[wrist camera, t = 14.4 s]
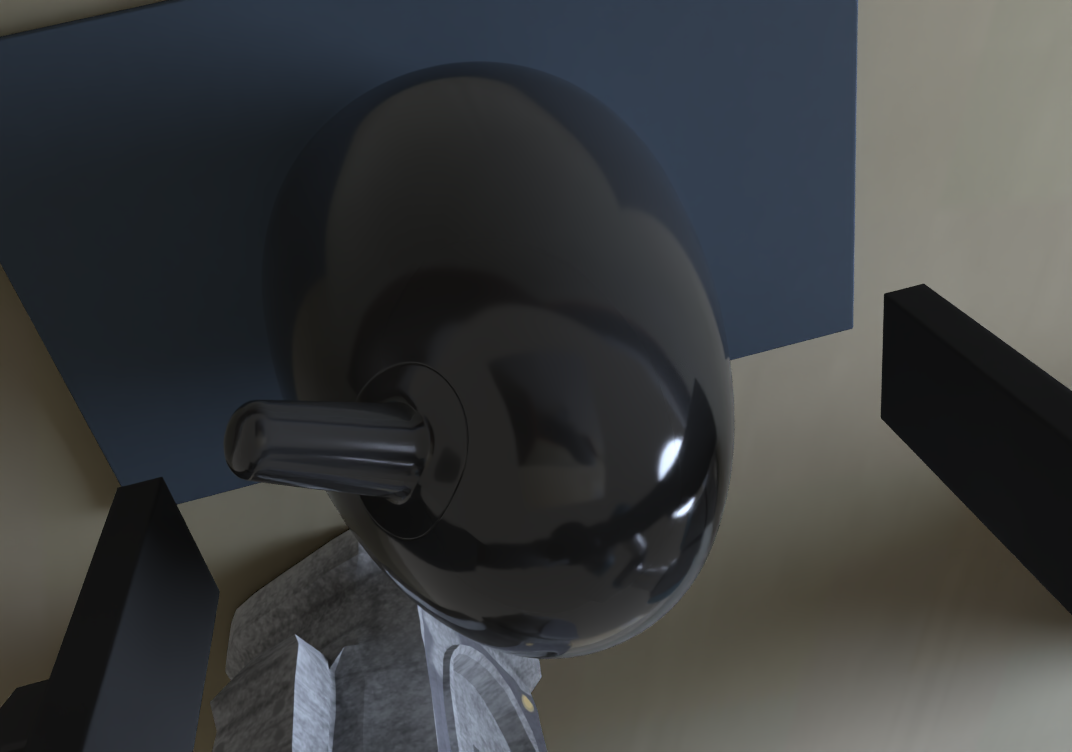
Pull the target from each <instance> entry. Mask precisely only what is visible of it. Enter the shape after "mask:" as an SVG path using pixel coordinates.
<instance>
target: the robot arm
mask: <svg viewBox="0 0 1072 752" xmlns="http://www.w3.org/2000/svg"><path fill="white" fill-rule="evenodd" d="M881 419H882V420H883V421H884V422H885V423H886V424H887V425H888V426H889V427H890V428H891V429H892V430H893V431H894V432H895V433H896V434H897V435H898V436H899V437H900V438H901V439H902V440H903V441H904V442H905V443H906V444H907V445H908V446H909V447H910V448H911V449H912V451H913V452H914V453H915V454H916V455H917V456H918V457H919V458H920V459H921V460H922V461H923V462H924V463H925V464H926V465H927V466H928V467H929V468H930V469H931V470H932V471H933V472H934V473H935V474H936V475H937V476H938V477H939V478H940V479H941V480H942V481H943V483H944V484H945V485H946V486H947V487H948V488H949V489H950V490H951V491H952V492H953V493H954V494H955V495H956V496H957V497H958V498H959V499H960V500H961V501H962V502H963V503H964V504H965V505H966V506H967V507H968V508H969V509H970V510H971V511H972V512H973V513H974V515H975V516H976V517H977V518H978V519H979V520H980V521H981V522H982V523H983V524H984V525H985V526H986V527H987V528H988V529H989V530H990V531H991V532H992V533H993V534H994V535H995V536H996V537H997V538H998V539H999V540H1000V541H1001V542H1002V543H1003V544H1004V545H1005V547H1006V548H1007V549H1008V550H1009V551H1010V552H1011V553H1012V554H1013V555H1014V556H1015V557H1016V558H1017V559H1018V560H1019V561H1020V562H1021V563H1022V564H1023V565H1024V566H1025V567H1026V568H1027V569H1028V570H1029V571H1030V572H1031V573H1032V574H1033V575H1034V576H1035V578H1036V579H1037V580H1038V581H1039V582H1040V583H1041V584H1042V585H1043V586H1044V587H1045V588H1046V589H1047V590H1048V591H1049V592H1050V593H1051V594H1052V595H1053V596H1054V597H1055V598H1056V599H1057V600H1058V601H1059V602H1060V603H1061V604H1062V605H1063V606H1064V607H1065V608H1066V610H1067V611H1068V612H1069V613H1070V614H1071V615H1072V391H1071V390H1070V389H1068V388H1067V387H1065V386H1064V385H1063V384H1061V383H1060V382H1059V381H1057V380H1056V379H1054V378H1053V377H1052V376H1050V375H1049V374H1048V373H1046V372H1045V371H1043V370H1042V369H1041V368H1039V367H1038V366H1037V365H1035V364H1034V363H1032V362H1031V361H1030V360H1028V359H1027V358H1026V357H1024V356H1023V355H1021V354H1020V353H1019V352H1017V351H1016V350H1015V349H1013V348H1012V347H1010V346H1009V345H1008V344H1006V343H1005V342H1003V341H1002V340H1001V339H999V338H998V337H997V336H995V335H994V334H992V333H991V332H990V331H988V330H987V329H986V328H984V327H983V326H981V325H980V324H979V323H977V322H976V321H975V320H973V319H972V318H970V317H969V316H968V315H966V314H965V313H964V312H962V311H961V310H959V309H958V308H957V307H955V306H954V305H952V304H951V303H950V302H948V301H947V300H946V299H944V298H943V297H941V296H940V295H939V294H937V293H936V292H935V291H933V290H932V289H930V288H929V287H928V286H926V285H925V284H921V285H917V286H913V287H909V288H905V289H901V290H897V291H893V292H889V293H885V294H884V320H883V356H882V392H881ZM219 593H220V591H219V589H218V587H217V585H216V583H215V581H214V579H213V577H212V575H211V573H210V571H209V569H208V567H207V565H206V563H205V561H204V559H203V557H202V555H201V553H200V551H199V549H198V547H197V545H196V543H195V541H194V539H193V537H192V535H191V533H190V531H189V529H188V527H187V525H186V523H185V521H184V519H183V517H182V515H181V513H180V511H179V509H178V507H177V505H176V503H175V501H174V499H173V497H172V495H171V493H170V491H169V489H168V487H167V485H166V483H165V481H164V479H163V477H159V478H155V479H151V480H147V481H143V482H139V483H135V484H131V485H127V486H123V487H119V488H117V491H116V494H115V497H114V499H113V502H112V505H111V508H110V511H109V513H108V516H107V519H106V522H105V524H104V527H103V530H102V533H101V536H100V538H99V541H98V544H97V547H96V550H95V552H94V555H93V558H92V561H91V564H90V566H89V569H88V572H87V575H86V578H85V580H84V583H83V586H82V589H81V592H80V594H79V597H78V600H77V603H76V605H75V608H74V611H73V614H72V617H71V619H70V622H69V625H68V628H67V631H66V633H65V636H64V639H63V642H62V645H61V647H60V650H59V653H58V656H57V659H56V661H55V664H54V667H53V670H52V673H51V675H50V678H49V679H48V680H45V681H41V682H37V683H33V684H30V685H26V686H22V687H18V688H16V689H15V691H14V692H13V693H12V694H11V696H10V697H9V698H8V699H7V701H6V702H5V703H4V704H3V706H2V707H1V708H0V752H193V749H194V743H195V737H196V731H197V725H198V719H199V713H200V707H201V701H202V695H203V689H204V683H205V677H206V671H207V665H208V659H209V653H210V647H211V641H212V635H213V629H214V623H215V617H216V611H217V605H218V599H219Z"/></svg>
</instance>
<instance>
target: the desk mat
mask: <svg viewBox="0 0 1072 752" xmlns="http://www.w3.org/2000/svg"><path fill="white" fill-rule="evenodd" d="M857 22H858V0H167V1H162V2H158V3H153V4H149V5H144V6H139V7H135V8H130V9H126V10H121V11H116V12H112V13H107V14H103V15H98V16H93V17H89V18H84V19H80V20H75V21H70V22H66V23H61V24H57V25H52V26H47V27H43V28H38V29H34V30H29V31H24V32H20V33H15V34H11V35H6V36H2V37H0V263H1V265H2V267H3V269H4V271H5V272H6V274H7V276H8V278H9V280H10V282H11V284H12V285H13V287H14V289H15V291H16V293H17V295H18V296H19V298H20V300H21V302H22V304H23V306H24V308H25V309H26V311H27V313H28V315H29V317H30V319H31V321H32V322H33V324H34V326H35V328H36V330H37V332H38V333H39V335H40V337H41V339H42V341H43V343H44V345H45V346H46V348H47V350H48V352H49V354H50V356H51V358H52V359H53V361H54V363H55V365H56V367H57V369H58V370H59V372H60V374H61V376H62V378H63V380H64V382H65V383H66V385H67V387H68V389H69V391H70V393H71V395H72V396H73V398H74V400H75V402H76V404H77V406H78V407H79V409H80V411H81V413H82V415H83V417H84V419H85V420H86V422H87V424H88V426H89V428H90V430H91V432H92V433H93V435H94V437H95V439H96V441H97V443H98V444H99V446H100V448H101V450H102V452H103V454H104V456H105V457H106V459H107V461H108V463H109V465H110V467H111V469H112V470H113V472H114V474H115V476H116V478H117V480H118V481H119V483H120V485H121V487H123V486H127V485H131V484H135V483H139V482H143V481H147V480H151V479H155V478H159V477H163V479H164V481H165V483H166V485H167V487H168V489H169V491H170V493H171V495H172V497H173V499H174V501H175V503H176V505H177V504H180V503H184V502H188V501H192V500H196V499H200V498H203V497H207V496H211V495H215V494H219V493H223V492H226V491H230V490H234V489H238V488H242V487H246V486H249V485H253V484H257V483H261V482H255V481H247V480H243V479H240V478H238V477H237V476H235V475H234V474H233V473H232V472H231V470H230V469H229V467H228V465H227V463H226V460H225V457H224V450H223V440H224V434H225V430H226V426H227V424H228V421H229V419H230V417H231V416H232V414H233V413H234V412H235V410H236V409H237V408H238V407H240V406H241V405H242V404H244V403H245V402H248V401H250V400H257V399H259V400H283V398H282V395H281V392H280V388H279V385H278V381H277V378H276V374H275V370H274V366H273V362H272V357H271V353H270V348H269V343H268V337H267V331H266V325H265V319H264V311H263V302H262V259H263V250H264V242H265V236H266V231H267V227H268V222H269V218H270V215H271V211H272V208H273V205H274V202H275V199H276V197H277V194H278V192H279V189H280V187H281V185H282V183H283V181H284V179H285V177H286V175H287V173H288V171H289V169H290V168H291V166H292V164H293V163H294V161H295V159H296V158H297V156H298V155H299V154H300V152H301V151H302V149H303V148H304V147H305V145H306V144H307V143H308V142H309V140H310V139H311V138H312V137H313V136H314V135H315V133H316V132H317V131H318V130H319V129H320V128H321V127H322V126H323V125H324V124H325V123H326V122H327V121H328V120H329V119H330V118H331V117H333V116H334V115H335V114H336V113H337V112H339V111H340V110H341V109H342V108H344V107H345V106H346V105H348V104H349V103H350V102H352V101H353V100H355V99H356V98H358V97H359V96H361V95H362V94H364V93H366V92H367V91H369V90H371V89H373V88H375V87H376V86H378V85H380V84H382V83H385V82H387V81H389V80H391V79H394V78H396V77H398V76H401V75H404V74H407V73H410V72H413V71H416V70H419V69H423V68H427V67H431V66H436V65H442V64H448V63H456V62H472V61H487V62H500V63H509V64H515V65H521V66H525V67H530V68H533V69H537V70H541V71H544V72H547V73H550V74H552V75H555V76H557V77H560V78H562V79H564V80H566V81H569V82H571V83H573V84H575V85H576V86H578V87H580V88H582V89H584V90H585V91H587V92H589V93H590V94H592V95H593V96H595V97H596V98H598V99H599V100H600V101H602V102H603V103H604V104H606V105H607V106H608V107H609V108H611V109H612V110H613V111H614V112H615V113H617V114H618V115H619V116H620V117H621V118H622V119H623V120H624V121H625V122H626V123H627V124H628V125H629V126H630V127H631V128H632V129H633V130H634V131H635V132H636V133H637V134H638V136H639V137H640V138H641V139H642V140H643V142H644V143H645V144H646V145H647V146H648V148H649V149H650V150H651V152H652V153H653V154H654V156H655V157H656V159H657V160H658V162H659V163H660V165H661V166H662V168H663V170H664V171H665V173H666V175H667V176H668V178H669V180H670V181H671V183H672V185H673V187H674V189H675V191H676V193H677V194H678V196H679V198H680V200H681V202H682V204H683V206H684V208H685V210H686V212H687V214H688V216H689V219H690V221H691V223H692V225H693V227H694V229H695V232H696V234H697V236H698V239H699V241H700V244H701V246H702V249H703V251H704V254H705V257H706V260H707V263H708V266H709V269H710V272H711V275H712V278H713V281H714V285H715V289H716V292H717V296H718V300H719V304H720V308H721V312H722V317H723V322H724V326H725V331H726V337H727V343H728V349H729V356H730V360H733V359H737V358H741V357H745V356H748V355H752V354H756V353H760V352H764V351H768V350H771V349H775V348H779V347H783V346H787V345H791V344H795V343H798V342H802V341H806V340H810V339H814V338H818V337H821V336H825V335H829V334H833V333H837V332H841V331H844V330H848V329H852V328H853V301H854V231H855V161H856V92H857Z"/></svg>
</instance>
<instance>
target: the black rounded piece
mask: <svg viewBox="0 0 1072 752" xmlns="http://www.w3.org/2000/svg"><path fill="white" fill-rule="evenodd" d="M262 302H263V311H264V319H265V325H266V331H267V337H268V343H269V348H270V353H271V357H272V362H273V366H274V370H275V374H276V378H277V381H278V385H279V388H280V392H281V395H282V398H283V400H259V399H257V400H250V401H248V402H245V403H244V404H242V405H241V406H240V407H238V408H237V409H236V410H235V412H234V413H233V414H232V416H231V417H230V419H229V421H228V424H227V426H226V430H225V434H224V440H223V450H224V457H225V460H226V463H227V465H228V467H229V469H230V470H231V472H232V473H233V474H234V475H235V476H237V477H238V478H240V479H243V480H247V481H255V482H263V483H271V484H278V485H286V486H294V487H302V488H310V489H318V490H325V491H326V492H327V494H328V496H329V498H330V499H331V501H332V503H333V504H334V506H335V507H336V509H337V511H338V512H339V514H340V515H341V517H342V519H343V520H344V522H345V523H346V525H347V526H348V528H349V529H350V531H351V532H352V533H353V535H354V536H355V538H356V539H357V540H358V542H359V543H360V544H361V546H362V547H363V548H364V550H365V551H366V552H367V553H368V555H369V556H370V557H371V558H372V560H373V561H374V562H375V563H376V564H377V566H378V567H379V568H380V569H381V570H382V571H383V572H384V574H385V575H386V576H387V577H388V578H389V579H390V580H391V581H392V582H393V583H394V584H395V585H396V586H397V587H398V588H399V589H400V590H401V591H402V592H403V593H404V594H405V595H406V596H408V597H409V598H410V599H411V600H412V601H413V602H414V603H416V604H417V605H418V606H419V607H421V608H422V609H423V610H424V611H426V612H427V613H428V614H430V615H431V616H432V617H434V618H435V619H437V620H438V621H440V622H441V623H443V624H444V625H446V626H447V627H449V628H450V629H452V630H454V631H455V632H457V633H459V634H460V635H462V636H464V637H466V638H468V639H470V640H472V641H474V642H476V643H478V644H480V645H483V646H485V647H488V648H490V649H493V650H496V651H499V652H503V653H506V654H510V655H515V656H521V657H527V658H536V659H561V658H572V657H579V656H584V655H589V654H593V653H596V652H600V651H603V650H606V649H609V648H611V647H614V646H616V645H619V644H621V643H623V642H625V641H627V640H629V639H631V638H633V637H635V636H637V635H638V634H640V633H642V632H643V631H645V630H646V629H648V628H649V627H650V626H652V625H653V624H655V623H656V622H657V621H658V620H660V619H661V618H662V617H663V616H664V615H666V614H667V613H668V612H669V611H670V610H671V609H672V608H673V607H674V606H675V605H676V604H677V603H678V602H679V600H680V599H681V598H682V597H683V596H684V595H685V593H686V592H687V591H688V590H689V588H690V587H691V585H692V584H693V582H694V581H695V579H696V578H697V576H698V574H699V573H700V571H701V569H702V568H703V566H704V564H705V562H706V560H707V558H708V556H709V553H710V551H711V549H712V546H713V544H714V541H715V538H716V535H717V532H718V529H719V526H720V523H721V519H722V516H723V512H724V508H725V504H726V500H727V495H728V490H729V485H730V479H731V472H732V464H733V453H734V431H735V418H734V392H733V381H732V371H731V363H730V356H729V349H728V343H727V337H726V331H725V326H724V322H723V317H722V312H721V308H720V304H719V300H718V296H717V292H716V289H715V285H714V281H713V278H712V275H711V272H710V269H709V266H708V263H707V260H706V257H705V254H704V251H703V249H702V246H701V244H700V241H699V239H698V236H697V234H696V232H695V229H694V227H693V225H692V223H691V221H690V219H689V216H688V214H687V212H686V210H685V208H684V206H683V204H682V202H681V200H680V198H679V196H678V194H677V193H676V191H675V189H674V187H673V185H672V183H671V181H670V180H669V178H668V176H667V175H666V173H665V171H664V170H663V168H662V166H661V165H660V163H659V162H658V160H657V159H656V157H655V156H654V154H653V153H652V152H651V150H650V149H649V148H648V146H647V145H646V144H645V143H644V142H643V140H642V139H641V138H640V137H639V136H638V134H637V133H636V132H635V131H634V130H633V129H632V128H631V127H630V126H629V125H628V124H627V123H626V122H625V121H624V120H623V119H622V118H621V117H620V116H619V115H618V114H617V113H615V112H614V111H613V110H612V109H611V108H609V107H608V106H607V105H606V104H604V103H603V102H602V101H600V100H599V99H598V98H596V97H595V96H593V95H592V94H590V93H589V92H587V91H585V90H584V89H582V88H580V87H578V86H576V85H575V84H573V83H571V82H569V81H566V80H564V79H562V78H560V77H557V76H555V75H552V74H550V73H547V72H544V71H541V70H537V69H533V68H530V67H525V66H521V65H515V64H509V63H500V62H487V61H472V62H456V63H448V64H442V65H436V66H431V67H427V68H423V69H419V70H416V71H413V72H410V73H407V74H404V75H401V76H398V77H396V78H394V79H391V80H389V81H387V82H385V83H382V84H380V85H378V86H376V87H375V88H373V89H371V90H369V91H367V92H366V93H364V94H362V95H361V96H359V97H358V98H356V99H355V100H353V101H352V102H350V103H349V104H348V105H346V106H345V107H344V108H342V109H341V110H340V111H339V112H337V113H336V114H335V115H334V116H333V117H331V118H330V119H329V120H328V121H327V122H326V123H325V124H324V125H323V126H322V127H321V128H320V129H319V130H318V131H317V132H316V133H315V135H314V136H313V137H312V138H311V139H310V140H309V142H308V143H307V144H306V145H305V147H304V148H303V149H302V151H301V152H300V154H299V155H298V156H297V158H296V159H295V161H294V163H293V164H292V166H291V168H290V169H289V171H288V173H287V175H286V177H285V179H284V181H283V183H282V185H281V187H280V189H279V192H278V194H277V197H276V199H275V202H274V205H273V208H272V211H271V215H270V218H269V222H268V227H267V231H266V236H265V242H264V250H263V259H262Z"/></svg>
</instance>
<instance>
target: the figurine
mask: <svg viewBox="0 0 1072 752" xmlns="http://www.w3.org/2000/svg"><path fill="white" fill-rule="evenodd" d="M225 672H226V674H227V675H228V677H229V678H230V680H231V681H230V682H229V683H228V684H227V685H226V686H225V687H224V688H223V689H222V690H221V691H220V693H219V694H218V695H217V696H216V697H215V698H214V699H213V700H212V701H211V702H210V704H211V709H212V713H213V717H214V721H215V725H216V729H217V734H216V738H215V742H214V746H213V750H212V752H547V748H546V744H545V740H544V737H543V733H542V729H541V725H540V720H539V714H538V710H537V708H536V705H535V703H534V700H533V697H532V695H531V692H532V691H533V689H534V688H535V686H536V685H537V683H538V682H539V680H540V678H541V677H542V676H541V669H540V662H539V659H536V658H527V657H521V656H515V655H510V654H506V653H503V652H499V651H496V650H493V649H490V648H488V647H485V646H483V645H480V644H478V643H476V642H474V641H472V640H470V639H468V638H466V637H464V636H462V635H460V634H459V633H457V632H455V631H454V630H452V629H450V628H449V627H447V626H446V625H444V624H443V623H441V622H440V621H438V620H437V619H435V618H434V617H432V616H431V615H430V614H428V613H427V612H426V611H424V610H423V609H422V608H421V607H419V606H418V605H417V604H416V603H414V602H413V601H412V600H411V599H410V598H409V597H408V596H406V595H405V594H404V593H403V592H402V591H401V590H400V589H399V588H398V587H397V586H396V585H395V584H394V583H393V582H392V581H391V580H390V579H389V578H388V577H387V576H386V575H385V574H384V572H383V571H382V570H381V569H380V568H379V567H378V566H377V564H376V563H375V562H374V561H373V560H372V558H371V557H370V556H369V555H368V553H367V552H366V551H365V550H364V548H363V547H362V546H361V544H360V543H359V542H358V540H357V539H356V538H355V536H354V535H353V533H352V532H351V531H350V530H348V531H346V532H345V533H343V534H341V535H340V536H338V537H336V538H335V539H333V540H331V541H330V542H328V543H327V544H325V545H324V546H322V547H321V548H320V549H318V550H317V551H315V552H314V553H312V554H311V555H309V556H308V557H306V558H305V559H304V560H302V561H301V562H299V563H298V564H296V565H295V566H293V567H292V568H290V569H289V570H287V571H286V572H284V573H283V574H281V575H280V576H278V577H277V578H276V579H274V580H273V581H271V582H270V583H269V584H267V585H266V586H264V587H263V588H262V589H260V590H259V591H257V592H256V593H255V594H253V595H252V596H251V597H250V598H249V599H248V600H247V601H245V602H244V603H243V604H242V605H241V606H240V607H239V608H238V609H236V612H235V615H234V617H233V620H232V623H231V630H230V637H229V643H228V649H227V659H226V670H225Z"/></svg>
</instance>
